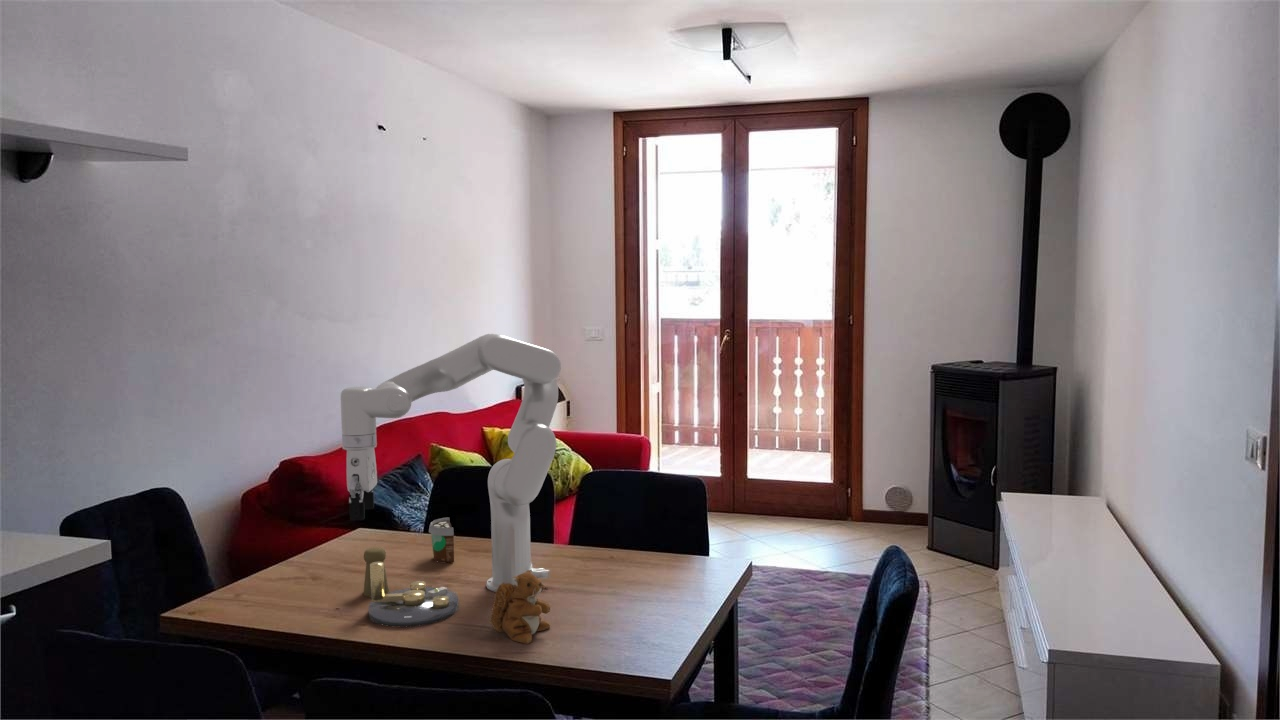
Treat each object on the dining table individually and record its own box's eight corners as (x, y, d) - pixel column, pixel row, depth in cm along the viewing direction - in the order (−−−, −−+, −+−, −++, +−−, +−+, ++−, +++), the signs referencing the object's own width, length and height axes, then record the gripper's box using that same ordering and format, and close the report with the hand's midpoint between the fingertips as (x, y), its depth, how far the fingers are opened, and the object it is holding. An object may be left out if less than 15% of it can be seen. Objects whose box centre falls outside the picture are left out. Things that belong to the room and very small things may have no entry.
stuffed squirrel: (530, 646, 183) (529, 583, 182) (477, 633, 190) (475, 573, 189) (558, 629, 192) (556, 570, 191) (506, 618, 199) (504, 561, 197)
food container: (428, 553, 248) (426, 518, 247) (450, 551, 250) (449, 516, 249) (431, 566, 236) (430, 530, 235) (454, 564, 238) (453, 527, 237)
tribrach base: (461, 593, 215) (461, 578, 215) (454, 624, 195) (453, 607, 195) (377, 597, 213) (376, 582, 212) (361, 629, 193) (360, 612, 193)
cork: (381, 597, 213) (379, 552, 212) (358, 595, 214) (356, 551, 213) (393, 588, 219) (391, 545, 218) (370, 587, 220) (369, 544, 219)
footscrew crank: (426, 597, 207) (425, 558, 206) (423, 604, 202) (422, 564, 201) (373, 599, 205) (372, 560, 204) (369, 607, 200) (368, 567, 199)
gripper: (367, 447, 194) (370, 523, 195) (383, 434, 211) (386, 504, 213) (332, 448, 193) (335, 525, 195) (351, 435, 211) (354, 505, 212)
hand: (362, 514), depth 204 cm, fingers open, 9 cm apart
